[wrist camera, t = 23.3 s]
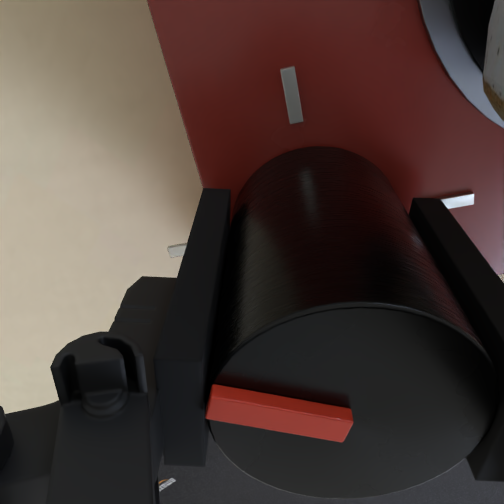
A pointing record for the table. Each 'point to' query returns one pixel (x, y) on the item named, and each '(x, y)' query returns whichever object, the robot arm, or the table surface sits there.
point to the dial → (340, 338)
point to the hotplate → (331, 100)
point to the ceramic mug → (495, 60)
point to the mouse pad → (274, 500)
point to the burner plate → (461, 45)
